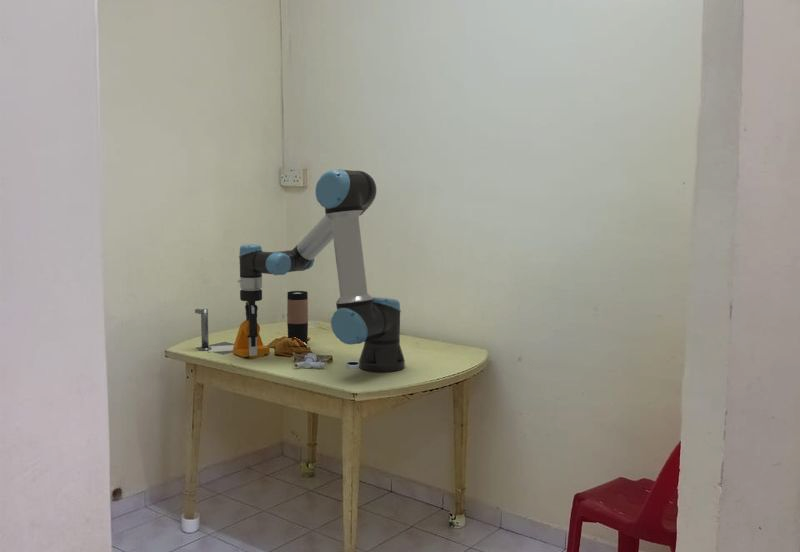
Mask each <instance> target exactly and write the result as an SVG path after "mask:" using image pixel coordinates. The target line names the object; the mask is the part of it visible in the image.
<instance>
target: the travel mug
mask: <svg viewBox="0 0 800 552" xmlns="http://www.w3.org/2000/svg"><path fill="white" fill-rule="evenodd" d="M308 292H309V291H304V290H291V291H290V290H289V291H287V294H286V295H287V296H286V297H287V298H286V300H287V305H286V306H287V307H286V308H287V309H286V311H287V314H286V317H287V318H286V319H287V320H286V321H287V322H286V324H287V339H288V338H291V337H296V338H298V339H300V340H301V341H303V342H305V343H306V344H307V345H308V337H309V336H308V335H309V334H308V333H309V330H308V329H309V313H308V312H309V305H308V303H309V299H308V296H309V295H308Z"/></svg>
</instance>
